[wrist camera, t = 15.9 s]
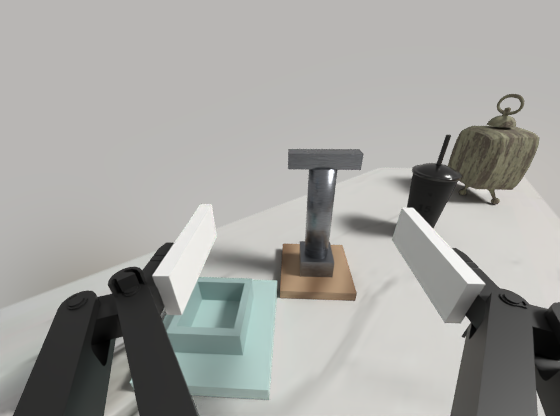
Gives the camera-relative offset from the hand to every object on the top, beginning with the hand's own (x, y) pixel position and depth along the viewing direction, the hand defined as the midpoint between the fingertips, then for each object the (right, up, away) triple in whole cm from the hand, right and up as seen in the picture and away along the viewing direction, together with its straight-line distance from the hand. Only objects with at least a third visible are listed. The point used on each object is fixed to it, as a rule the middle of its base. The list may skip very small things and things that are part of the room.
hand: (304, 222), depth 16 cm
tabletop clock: (+51, +4, +47) cm, 69 cm away
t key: (+4, -9, +22) cm, 24 cm away
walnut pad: (+4, -10, +22) cm, 25 cm away
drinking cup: (+27, -4, +32) cm, 42 cm away
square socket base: (-9, -15, +14) cm, 22 cm away
